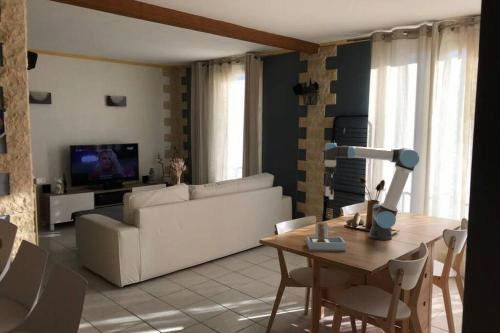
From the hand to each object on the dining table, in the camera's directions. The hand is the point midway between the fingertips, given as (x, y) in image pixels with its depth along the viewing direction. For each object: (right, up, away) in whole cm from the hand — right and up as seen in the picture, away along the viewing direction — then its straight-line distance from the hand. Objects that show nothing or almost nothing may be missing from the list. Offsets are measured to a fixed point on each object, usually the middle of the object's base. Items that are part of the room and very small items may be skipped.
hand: (329, 197), depth 269 cm
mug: (-3, -29, +4) cm, 29 cm away
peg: (-9, -29, -16) cm, 35 cm away
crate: (-6, -30, -16) cm, 35 cm away
